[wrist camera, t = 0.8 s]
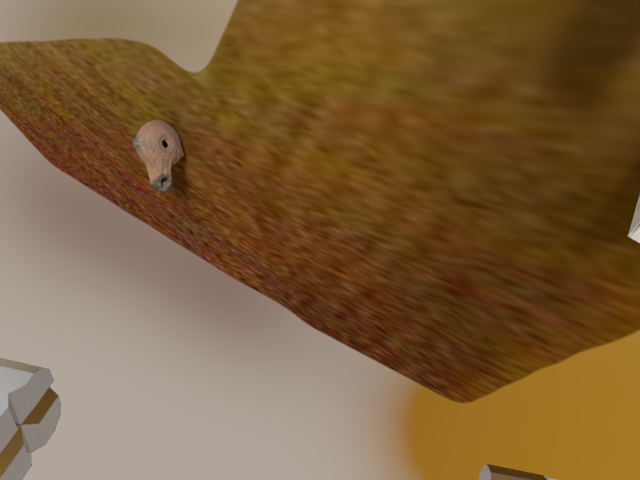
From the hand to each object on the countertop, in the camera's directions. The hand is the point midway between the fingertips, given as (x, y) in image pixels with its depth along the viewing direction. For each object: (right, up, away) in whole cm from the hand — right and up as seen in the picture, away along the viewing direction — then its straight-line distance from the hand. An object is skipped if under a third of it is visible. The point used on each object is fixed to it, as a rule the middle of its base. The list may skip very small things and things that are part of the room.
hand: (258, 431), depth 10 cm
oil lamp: (-18, +17, +67) cm, 72 cm away
